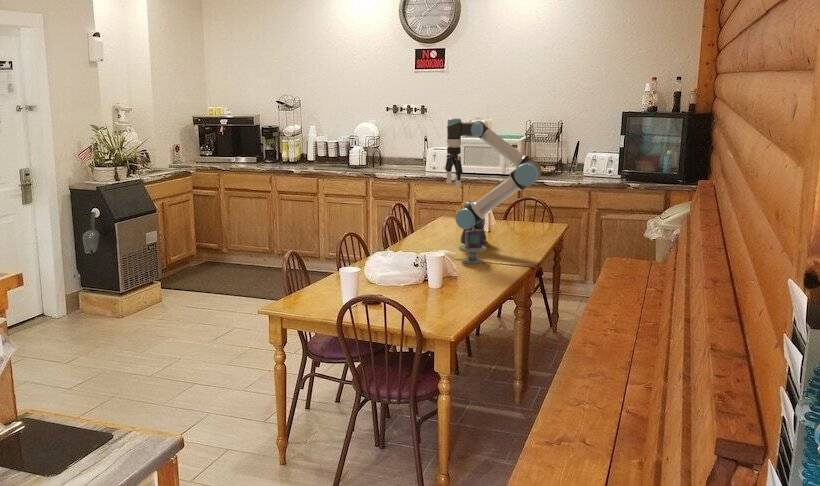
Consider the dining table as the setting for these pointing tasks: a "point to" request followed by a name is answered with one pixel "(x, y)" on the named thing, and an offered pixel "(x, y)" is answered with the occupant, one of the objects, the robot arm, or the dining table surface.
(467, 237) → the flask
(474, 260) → the cake stand
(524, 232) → the dining table surface
